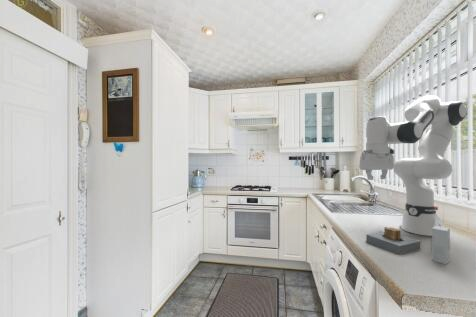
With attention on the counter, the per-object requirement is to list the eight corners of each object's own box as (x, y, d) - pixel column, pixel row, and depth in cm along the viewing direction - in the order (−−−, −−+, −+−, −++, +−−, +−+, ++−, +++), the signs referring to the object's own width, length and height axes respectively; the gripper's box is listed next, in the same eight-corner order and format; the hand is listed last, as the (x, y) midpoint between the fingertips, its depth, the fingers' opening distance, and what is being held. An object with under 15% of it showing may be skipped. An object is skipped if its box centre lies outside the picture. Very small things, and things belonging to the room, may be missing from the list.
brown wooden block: (402, 247, 93) (402, 230, 93) (396, 248, 91) (396, 231, 91) (388, 242, 98) (388, 226, 98) (382, 243, 97) (382, 227, 97)
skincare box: (434, 256, 84) (435, 225, 85) (450, 260, 81) (450, 227, 81) (431, 260, 81) (431, 227, 81) (447, 264, 77) (447, 230, 77)
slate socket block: (386, 237, 104) (386, 231, 104) (420, 248, 91) (420, 241, 91) (366, 241, 98) (366, 234, 98) (399, 254, 86) (399, 245, 86)
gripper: (368, 149, 97) (368, 180, 96) (396, 150, 105) (396, 179, 105) (355, 150, 102) (355, 179, 102) (383, 151, 111) (383, 178, 111)
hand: (376, 179), depth 104 cm, fingers open, 8 cm apart
